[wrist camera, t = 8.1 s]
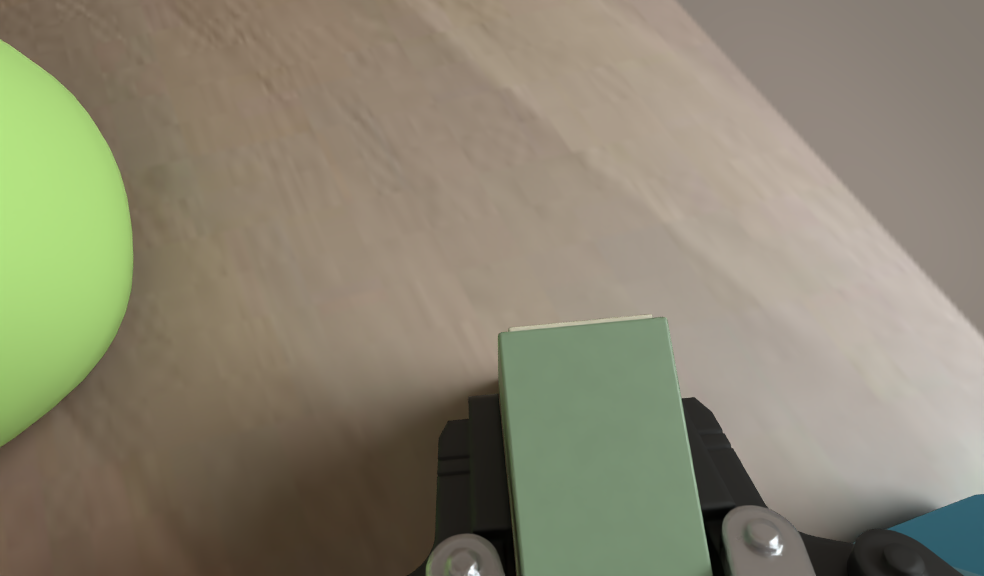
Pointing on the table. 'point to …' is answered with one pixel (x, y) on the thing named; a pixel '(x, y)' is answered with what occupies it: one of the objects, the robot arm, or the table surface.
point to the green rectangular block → (599, 451)
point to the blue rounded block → (952, 534)
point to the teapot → (54, 243)
